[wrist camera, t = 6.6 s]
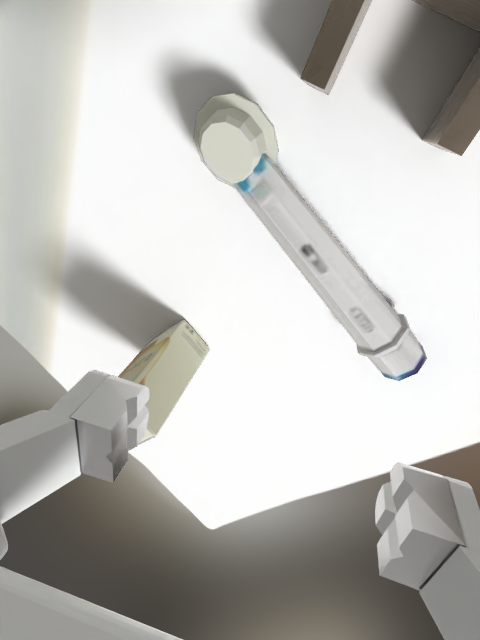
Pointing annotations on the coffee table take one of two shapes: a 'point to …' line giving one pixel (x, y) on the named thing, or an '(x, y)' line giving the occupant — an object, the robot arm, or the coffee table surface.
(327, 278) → the white handheld device
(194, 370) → the skincare box
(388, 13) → the coffee table surface
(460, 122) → the bracket
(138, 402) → the robot arm
